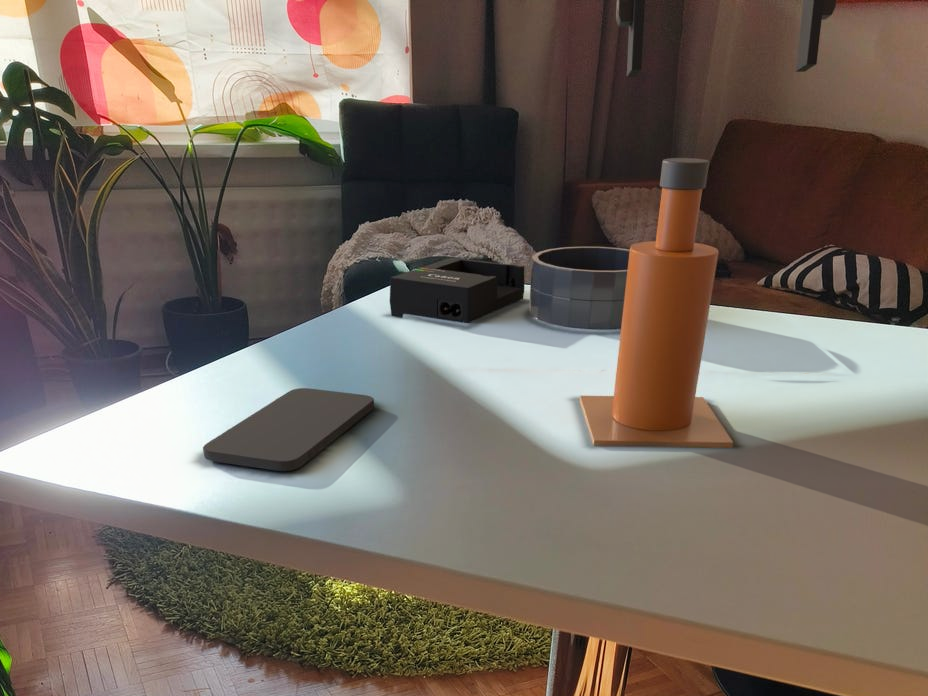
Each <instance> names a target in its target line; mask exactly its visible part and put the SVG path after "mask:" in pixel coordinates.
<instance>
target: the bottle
mask: <svg viewBox="0 0 928 696" xmlns="http://www.w3.org/2000/svg"><path fill="white" fill-rule="evenodd" d="M709 167H710V161H709V160H708V159H703V158H694V157H693V158H691V157H669V158H664V159H662V163H661V171H660V180H659V187H660V188H661V195H660V202H659V203H660V204H659V213H658V220H657V229H656V237H655V240H652V241H651V240H650V241H641V242H637V243H633V244H631V245H630V247H629V250H630V252H629V262H628V271H627V280H626V289H625V298H624V307H623V316H622V325H621V329H620V335H619V345H618V354H617V363H616V371H615V380H614V389H613V396H614V398H613V407H612V417H613V418H614V419H615V420H616V421H617V422H619V423H621V424H623V425H626V426H628V427H632V428H636V429H642V430H651V431H668V430H675V429H680V428H683V427H685V426H687V425H689V424H690V422H691V420H692V414H693V407H694V401H695V397H696V395H697V389H698V383H699V382H698V381H699V376H700V369H701V365H702V358H703V357H702V356H703V350H704V345H705V339H706V332H707V328H708V327H707V326H708V319H709V314H710V307H711V302H712V297H713V296H712V295H713V289H714V283H715V277H716V270H717V264H718V259H719V252H720V251H719V250H718V248H717V247H714V246H711V245H708V244H705V243H698V242H695V241H696V235H697V229H698V228H697V226H698V219H699V214H700V206H701V200H702V193H703V190H704V189H706V186H707V180H708V175H709V174H708V173H709Z"/></svg>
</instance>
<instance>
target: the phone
mask: <svg viewBox="0 0 928 696" xmlns="http://www.w3.org/2000/svg"><path fill="white" fill-rule="evenodd" d="M374 408H375V398H374V397H372V396H371V395H367V394H359V393H351V392H344V391H343V392H342V391H334V390H326V389H317V388H307V387H301V388H300V387H299V388H298V387H297V388H294V389H290V390H289V391H287V392H285V393H284V394H282V395H281V396H279V397H278V398H276V399H275V400H273V401H271V402H270V403H268V404H267V405H265V406H263V407H262V408H260V409H259V410H257V411H256V412H254V413H253V414H250V415H249V416H247V417H246V418H245V419H243V420H241V421H240V422H237V424H235V425H234V426H231V428H228V429H227V430H226V431H224V432H222V433H221V434H219V435H217V436H216V437H215V438H212V439H211V440H209V441H208V442H207V443H205V444H204V445H203V447H202V452H203V457H204V459H206V460H208V461H209V462H214V463H220V464H221V463H222V464H229V465H236V466H242V467H250V468H256V469H261V470H262V469H263V470H271V471H277V472H278V471H279V472H290V471H294V470H297V469H300V468H301V467H302V466H303V465H305V464H306V463H307V462H309V461H310V460H311V459H312V458H314V457H316V455H317V454H319V453H320V452H321V451H323V450H324V449H325V448H326V447H328V446H329V445H330V444H331V443H333V442H334V441H335V440H336V439H337V438H339V437H340V436H342V434H344V433H345V432H346V431H348V430H349V429H350V428H351V427H353V426H354V425H355V424H357V422H359V421H360V420H362V419H363V418H364V417H365V416H366V415H368V414H369V413H370V412H372V411H373V409H374Z"/></svg>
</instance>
